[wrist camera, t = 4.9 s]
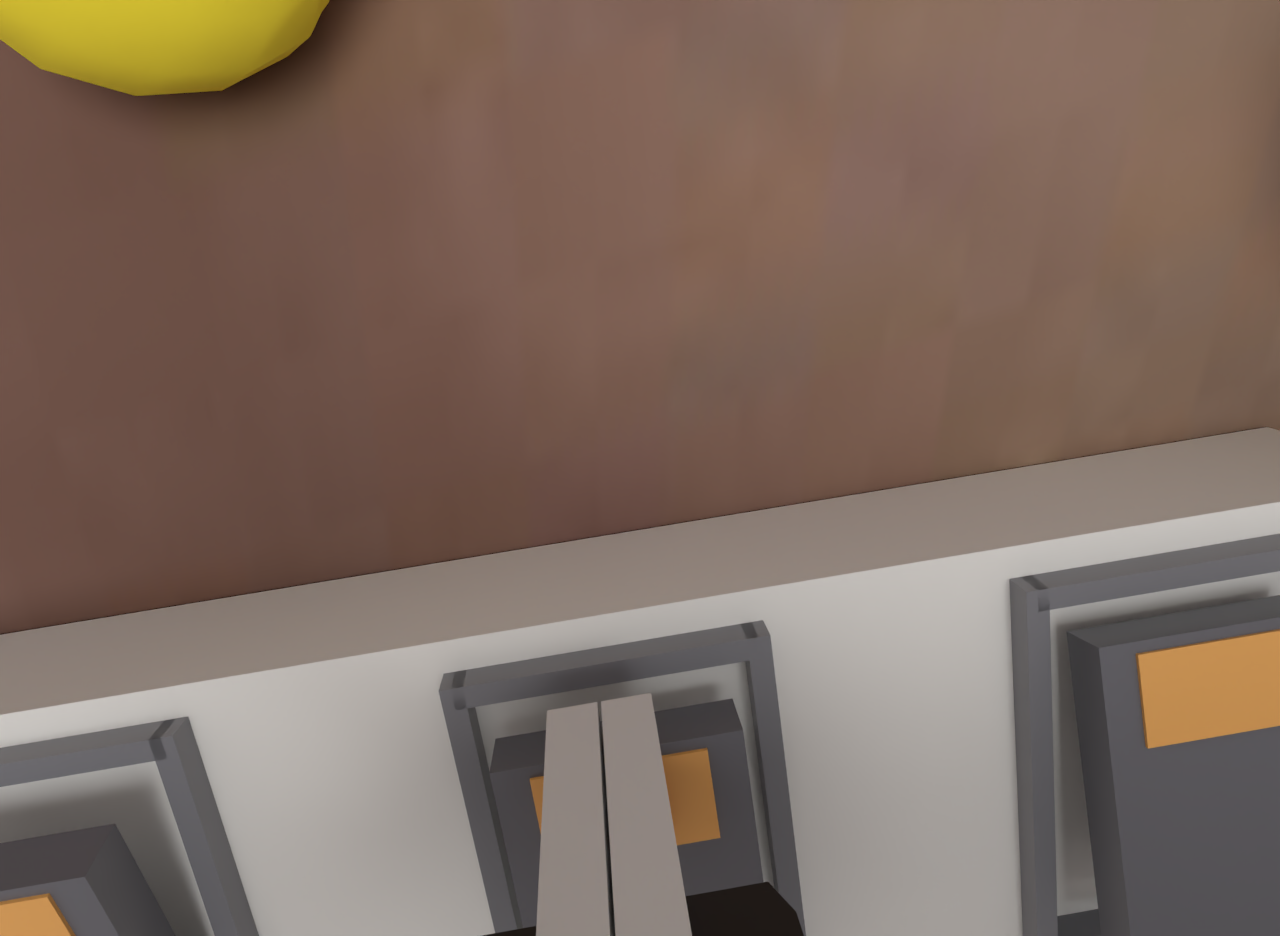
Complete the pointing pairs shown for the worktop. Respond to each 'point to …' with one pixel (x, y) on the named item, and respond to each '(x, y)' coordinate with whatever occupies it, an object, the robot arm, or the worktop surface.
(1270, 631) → the rocker
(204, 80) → the lemon
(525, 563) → the rocker switch box
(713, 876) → the dark grey flat block
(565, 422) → the worktop surface
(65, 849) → the rocker
